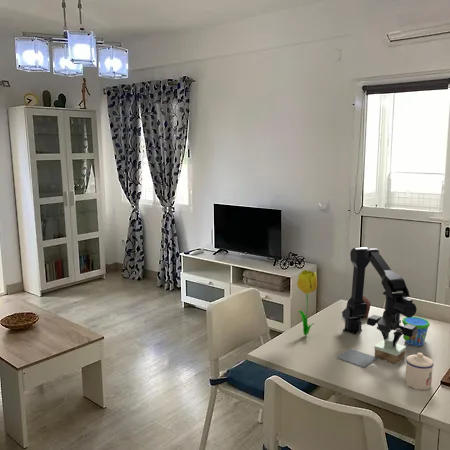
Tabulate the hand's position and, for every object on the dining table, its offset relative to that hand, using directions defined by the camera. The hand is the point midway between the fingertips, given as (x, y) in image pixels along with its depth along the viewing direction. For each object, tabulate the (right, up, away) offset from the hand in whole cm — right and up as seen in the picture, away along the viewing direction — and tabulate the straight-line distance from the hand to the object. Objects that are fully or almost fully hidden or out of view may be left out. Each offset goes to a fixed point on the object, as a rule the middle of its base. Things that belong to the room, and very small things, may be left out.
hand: (390, 345), depth 185 cm
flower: (-30, -2, +21) cm, 37 cm away
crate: (0, -5, +1) cm, 5 cm away
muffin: (0, +3, +45) cm, 46 cm away
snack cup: (+15, -3, +14) cm, 21 cm away
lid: (0, -1, 0) cm, 1 cm away
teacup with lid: (+3, -9, -19) cm, 21 cm away
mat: (-13, -5, 0) cm, 14 cm away
